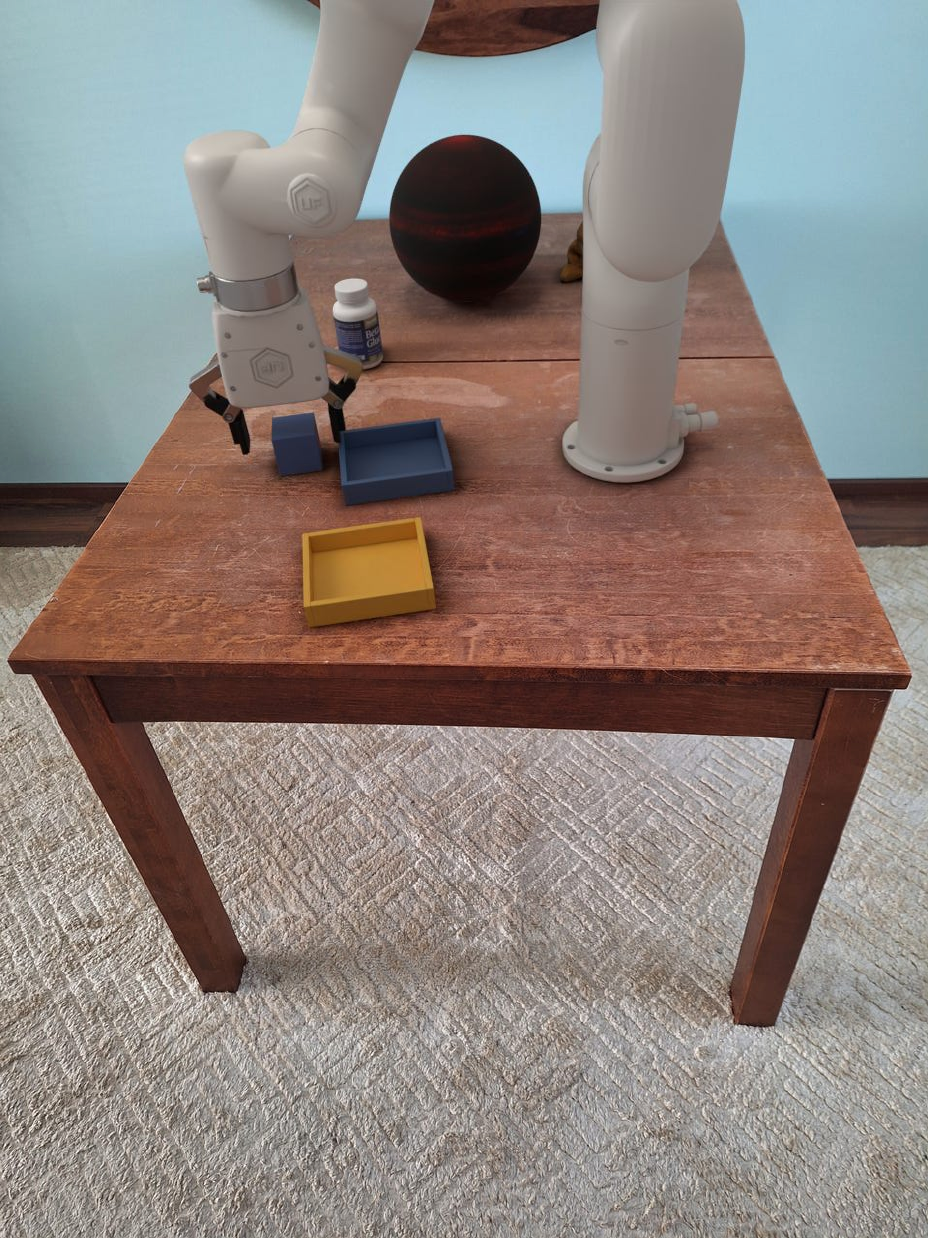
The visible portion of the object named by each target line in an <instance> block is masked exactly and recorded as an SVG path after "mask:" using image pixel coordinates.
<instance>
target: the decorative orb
mask: <svg viewBox="0 0 928 1238" xmlns="http://www.w3.org/2000/svg"><path fill="white" fill-rule="evenodd" d="M388 213H389V214H388V223H389V224H388V225H389V233H390V238H391V243H392V246H393V249H394V251H395V255H396V257H397V258H398V260H399V262H400V263H401V266H402V267H403V269H404V270H405V272H406V273H407V274H408V275H409V277H410V278H411V279H412V280H413V281H414V282H415V283H416V284H417V285H419V287H421V288H422V289H423V290H424V291H427V292H428V293H430V294H431V295H433V296H435V297H437V298H440V299H442V300H446V301H450V302H455V303H456V302H457V303H474V302H480V301H485V300H488V299H490V298H493V297H495V296H497V295H499V294H501V293H503V292H504V291H505V290H507V289H508V288H510V287H511V286H512V285H514V284H515V283H516V282H517V281H518V280H519V278H520V277H521V276H522V275H523V274H524V272H525V271H526V269H527V268H528V267H529V265H530V263H531V262H532V260H533V258H534V255H535V254H536V250H537V248H538V245H539V241H540V237H541V230H542V206H541V200H540V196H539V192H538V189H537V186H536V184H535V181H534V179H533V177H532V175H531V173H530V172H529V170H528V168H527V167H526V166H525V164H524V163H523V162H522V160H521V159H519V157H518V156H517V155H516V154H515V153H514V152H513V151H511V150H510V149H509V148H507V147H506V146H504V145H503V144H502V143H500V142H497V141H495V140H493V139H492V138H491V139H490V138H489V137H485V136H481V135H476V134H455V135H450V136H446V137H443V138H440V139H438V140H435V141H434V142H431V143H430V144H428V145H427V146H425V147H423V148H422V149H421V150H420V151H418V152H417V153H416V154H415V155H414V156H413V157H412V158H411V159H410V160H409V161H408V162H407V164H406V165H405V167H404V168H403V169H402V171H401V173H400V174H399V177H398V178H397V181H396V184H395V185H394V188H393V190H392V195H391V198H390V204H389V211H388Z"/></svg>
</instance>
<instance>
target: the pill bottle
mask: <svg viewBox="0 0 928 1238" xmlns="http://www.w3.org/2000/svg"><path fill="white" fill-rule="evenodd" d="M334 294H335V298H336V300H337V301H335V302H334V304H333V306H332V318H333V322H334V329H335V334H336V340H337V348H338V350H340V351H343V352H346V353H349V354H352V355H355V356H358V357H360V358H361V359H362V361H363V369H362V371H363V370H368V369H372V368H374V367H376V366H378V365H379V364H381V363H382V361H383V359H384V350H383V343H382V342H383V341H382V336H381V329H380V322H379V314H378V307H377V303H376V301H375V300H374V299H372V298H371V297H370V288H369V284H368V282H367V281H366V280H365V279H362V278H357V277H356V278H346V279H343V280H340V281H338V282H337V283H335V285H334Z"/></svg>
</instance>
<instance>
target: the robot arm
mask: <svg viewBox="0 0 928 1238" xmlns="http://www.w3.org/2000/svg"><path fill="white" fill-rule="evenodd" d="M434 3H435V0H319V5H320V13H319V14H320V15H319V26H318V27H319V28H318V34H317V38H316V45H315V49H314V54H313V58H312V59H313V60H312V63H311V67H310V71H309V75H308V78H307V83H306V86H305V90H304V94H303V97H302V102H301V105H300V110H299V113H298V116H297V119H296V123H295V126H294V129H293V131H292V132H291V133H290V135H289V136H288V139H287V140H286V141H284V142H283V143H281V144H280V145H277V146H275V147H271V146H270V144H269V142H268V141H267V139H265V137H263V136H262V135H261V134H258V133H256V132H253V131H247V130H241V129H240V130H237V129H236V130H235V129H233V130H221V131H216V132H211V133H207V134H204V135H201V136H199V137H197V138H196V139H193V140H192V141H190V142H189V144H187V146H186V147H185V149H184V152H183V158H182V160H183V161H182V162H183V163H182V164H183V168H184V173H185V178H186V181H187V184H188V189H189V192H190V197H191V200H192V204H193V208H194V211H195V215H196V219H197V223H198V227H199V230H200V235H201V239H202V242H203V246H204V250H205V253H206V258H207V262H208V265H209V269H210V270H209V272H208V274H206V275H204V276H202V277H197V278H196V282H197V287H198V291H199V293H200V294H203V293H204V294H205V293H208V294H212V296H213V297H215V298H216V299H215V300H214V301H213V304H212V306H211V322H212V331H213V337H214V338H213V339H214V343H215V349H216V355H217V359H216V360H215V361H213V362H212V363H210V364H209V365H207V366H205V367H204V368H203V369H201V370H200V371H198V372H197V373H196V374H193V375H192V376H190V378H189V383H188V388H189V390H190V391H191V392H192V393H193V394H194V395H195V396H196V397H197V398H198V399H199V400H200V401H202V402H203V405H204V406H205V408H207V409H209V410H210V411H212V412H214V413H215V414H217V415H219V416H220V417H222V420H223V421H224V422H226V423H227V424H228V427H229V430H230V434H231V438H232V441H233V444H234V445H239V446H240V451H241V454H242V456H246V455H249V454H250V453H251V435H250V432H249V431H250V430H249V428H248V424H247V421H246V417H245V413H244V410H243V409H257V408H258V409H259V408H267V407H274V406H275V407H276V406H282V405H283V406H284V405H291V404H298V403H306V402H313V401H316V400H320V399H322V400H323V401H324V402H326V403H327V411H328V412H327V413H328V418H329V422H330V423H329V424H330V428H331V434H332V440H333V443H335V444H338V443H341V438H340V431H346V430H347V428H346V420H345V414H344V408H343V407H344V405H345V402H346V401H347V400H348V399H349V397H350V396H351V395H352V394H353V393H354V392H355V390H356V389H357V384H358V382H359V379H360V377H361V375H362V372H363V370H364V369H363V361H362V359H361V358H360V357H358V356H355V355H352V354H349V353H346V352H343V351H340V350H339V349H337V348H334V347H331V346H328V345H325V344H324V342H323V339H322V334H321V331H320V327H319V324H318V320H317V317H316V313H315V310H314V309H313V306H312V303H311V300H310V298H309V295H308V293H307V291H306V289H305V288H304V287H302V286H301V285H299V282H298V276H297V272H296V266H295V261H294V256H293V250H292V244H291V240H290V237H291V236H292V237H298V238H302V239H303V238H305V239H312V240H313V239H314V240H325V239H331V238H335V237H338V236H339V235H341V234H344V233H345V232H346V231H347V230H348V229H349V228H350V227H351V226H352V225H353V224H354V222H355V221H356V220H357V217H358V215H359V213H360V210H361V207H362V204H363V201H364V197H365V194H366V190H367V187H368V183H369V181H370V178H371V175H372V171H373V169H374V165H375V162H376V158H377V156H378V152H379V148H380V147H381V146H380V145H381V143H382V140H383V136H384V133H385V131H386V127H387V124H388V121H389V118H390V114H391V112H392V108H393V105H394V102H395V99H396V97H397V93H398V91H399V89H400V85H401V82H402V79H403V76H404V73H405V70H406V68H407V65H408V63H409V60H410V58H411V56H412V54H413V53H414V51H415V49H416V48H417V46H418V45H419V43H420V41H421V39H422V37H423V35H424V32H425V30H426V26H427V24H428V21H429V19H430V15H431V13H432V10H433V6H434ZM595 26H596V29H595V44H596V51H597V57H598V62H599V64H600V68H601V71H602V101H601V102H602V104H601V122H600V133H599V134H598V135H597V137H596V138H595V140H594V141H593V143H592V145H591V147H590V149H589V152H588V155H587V157H586V161H585V165H584V169H583V178H582V179H583V180H582V221H583V276H582V286H581V287H582V292H581V310H580V311H581V313H580V342H579V343H580V345H579V370H578V371H579V373H578V375H579V377H578V407H577V409H578V411H577V419H576V420H575V421H574V422H572V423H570V424H569V426H568V427H567V428H566V430H565V431H564V433H563V436H562V440H561V441H562V454H563V456H564V458H565V460H566V461H567V463H568V464H569V465H570V466H571V467H573V468H574V469H575V470H576V471H578V472H580V473H581V474H583V475H586V476H588V477H590V478H593V479H597V480H600V481H604V482H605V481H606V482H611V483H639V482H644V481H649V480H652V479H657V478H658V477H661V476H663V475H665V474H667V473H669V472H671V470H673V469H674V468H675V467H676V466H677V465H678V464H679V463H680V461H682V457H683V455H684V450H685V449H684V447H685V440H684V438H685V437H687V436H688V435H689V433H694V432H707V431H713V430H717V428H718V427H719V418H718V414H717V412H716V410H708V411H703V412H698V405H697V403H696V402H690V403H684V404H680V405H675V404H674V403H675V395H676V386H677V377H678V370H679V369H678V368H679V361H680V352H681V346H682V335H683V327H684V320H685V312H686V307H687V298H688V292H689V291H688V290H689V280H690V268H691V267H692V266H693V265H694V264H695V263H696V262H697V261H698V260H699V259H700V258H701V257H702V256H703V254H704V253H705V251H706V250H707V249H708V247H709V245H710V244H711V242H712V240H713V237H714V235H715V234H716V231H717V228H718V225H719V221H720V219H721V215H722V210H723V205H724V199H725V194H726V189H727V182H728V177H729V170H730V165H731V159H732V153H733V152H732V151H733V146H734V140H735V134H736V127H737V121H738V116H739V115H738V114H739V110H740V109H739V108H740V101H741V97H742V95H741V94H742V88H743V82H744V81H743V80H744V73H745V64H746V63H745V62H746V36H745V35H746V33H745V25H744V19H743V14H742V11H741V8H740V5H739V3H738V0H599V5H598V12H597V19H596V25H595ZM328 365H330V366H334V367H336V368H340V369H342V370H345V374H344V375H343V377H342V378H341V379H340V380H339V381H338V382H337V383H336V382H335V381H334V380H333V379H331V378H330V376H329V371H328ZM362 369H363V370H362ZM221 378H222V383H223V387H224V392H225V394H226V395H225V396H226V397H225V396H223V395H221V394H220V393H219V392H216V391H215V390H214V389H213V390H212V388H211V387H210V385H212V384H213V383H215V382H216V381H218V380H219V379H221Z"/></svg>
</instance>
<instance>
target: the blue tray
mask: <svg viewBox="0 0 928 1238" xmlns="http://www.w3.org/2000/svg"><path fill="white" fill-rule="evenodd" d="M340 438H341V443H337V444H338V456H339V467H340V468H339V469H340V483H341V490H342V494H343V500H344V504H345V506H353V505H359V504H366V503H374V502H380V501H389V500H394V499H395V500H396V499H403V498H408V497H409V498H411V497H417V496H424V495H431V494H438V493H445V492H452V491H455V490H456V489H455V479H454V470H453V465H452V461H451V456H450V452H449V448H448V444H447V440H446V436H445V431H444V428H443V424H442V419H441V417H435V418H434V417H433V418H426V419H419V420H418V419H417V420H412V421H404V422H397V423H388V424H381V425H373V426H367V427H359V428H352V429H346V431H340Z"/></svg>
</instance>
